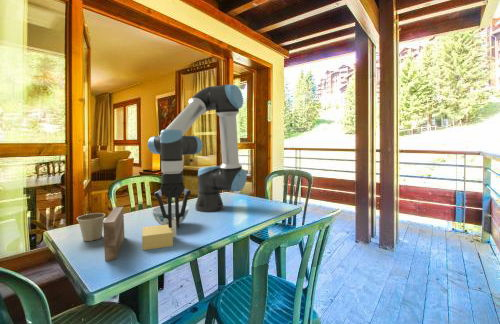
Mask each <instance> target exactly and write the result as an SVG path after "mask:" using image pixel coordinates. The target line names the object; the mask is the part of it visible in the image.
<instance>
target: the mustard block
mask: <svg viewBox="0 0 500 324" xmlns="http://www.w3.org/2000/svg"><path fill="white" fill-rule="evenodd" d="M141 232H142V235H141V239H142V240H141V242H142V243H141V245H142V251H146V250H147V251H148V250H152V249H153V250H154V249H159V248H160V249H161V248H165V247H166V248H167V247H168V248H169V247H173V246H174V237H173V231H172V228H169V226H168V225H161V224H159V225H150V226H143V227H142V231H141Z"/></svg>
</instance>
